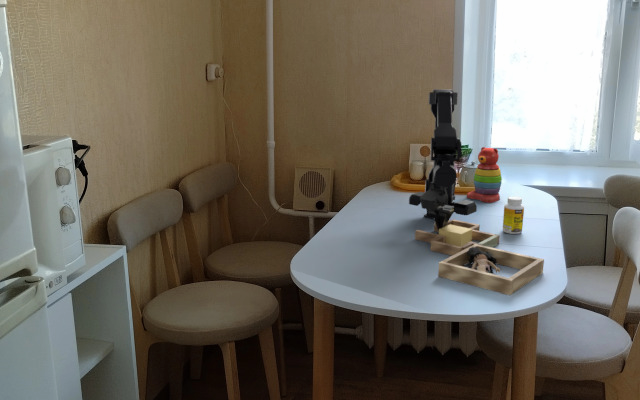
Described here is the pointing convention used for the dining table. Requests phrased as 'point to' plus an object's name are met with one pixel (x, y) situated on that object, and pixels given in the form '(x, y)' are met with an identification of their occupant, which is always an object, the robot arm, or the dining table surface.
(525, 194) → the dining table surface
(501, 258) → the fence
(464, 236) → the block
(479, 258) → the toy figure
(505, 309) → the dining table surface
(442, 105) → the robot arm
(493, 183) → the stacking bear
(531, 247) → the dining table surface
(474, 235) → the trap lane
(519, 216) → the supplement bottle
